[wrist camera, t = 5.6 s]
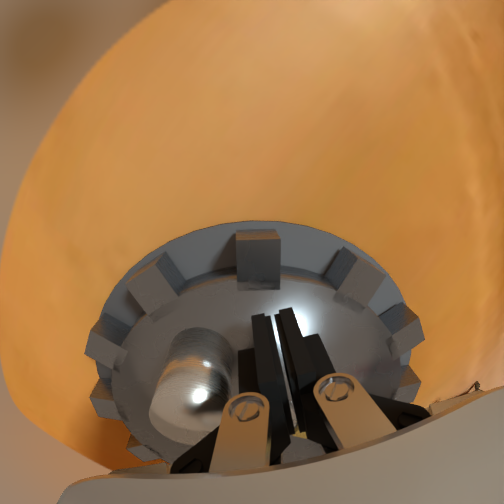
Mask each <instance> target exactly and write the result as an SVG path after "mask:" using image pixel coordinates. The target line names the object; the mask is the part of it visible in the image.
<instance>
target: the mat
mask: <svg viewBox="0 0 504 504" xmlns="http://www.w3.org/2000/svg"><path fill="white" fill-rule="evenodd" d="M244 229H275V230H276V231H277V233H278V235H279V237H280V238H281V265H284V266H290V267H297V268H302V269H306V270H309V271H312V272H316V273H319V274H322V275H324V276H325V275H326V273H327V271H328V270H329V268H330V267H331V265H332V264H333V262H334V260H335V259H336V257H337V255H338V254H339V252H340V251H341V249H342V247H343V246H344V247H346V248H348V249H349V250H351V251H352V252H354V253H356V254H357V255H359V256H361V257H362V258H364V259H365V260H367V261H369V262H370V263H371V264H373V265H374V266H375V267H376V268H378V269H379V270H380V271H381V272H383V273H384V274H385V275H386V277H385V279H384V280H383V282H382V283H381V285H380V287H379V288H378V290H377V291H376V293H375V294H374V296H373V297H372V299H371V300H370V302H369V303H368V305H369V307H370V308H371V309H372V310H373V311H374V312H375V314H376V315H377V316H378V317H379V316H381V315H382V314H384V313H385V312H387V311H388V310H390V309H391V308H393V307H394V306H396V305H397V304H399V303H400V302H403V303H404V304H405V305H406V303H405V301H404V299H403V297H402V295H401V293H400V290H399V289H398V287H397V286H396V284H395V283H394V281H393V280H392V278H391V277H390V276H389V274H388V273H387V272H386V271H385V270H384V269H383V268H382V267H381V266H380V265H379V264H378V263H377V262H376V261H375V260H374V259H373V258H372V257H370V256H369V255H367V254H366V253H365V252H363V251H362V250H360V249H359V248H357V247H356V246H355V245H353V244H351V243H349V242H347V241H345V240H343V239H341V238H339V237H337V236H335V235H333V234H331V233H328V232H324V231H321V230H318V229H315V228H312V227H309V226H305V225H299V224H293V223H286V222H280V221H243V222H234V223H225V224H220V225H216V226H212V227H208V228H204V229H200V230H196V231H193V232H191V233H188V234H186V235H183V236H181V237H179V238H176V239H174V240H171V241H169V242H168V243H166V244H164V245H163V246H161V247H159V248H158V249H156V250H154V251H153V252H151V253H149V254H148V255H147V256H145V257H144V258H143V259H142V260H141V261H139V262H138V263H137V264H136V265H135V266H133V267H132V268H131V269H130V270H129V271H128V272H127V273H126V275H125V276H124V277H123V278H122V279H121V280H120V282H119V283H118V284H117V285H116V286H115V288H114V289H113V291H112V293H111V294H110V296H109V298H108V299H107V301H106V303H105V304H104V307H103V310H102V312H101V315H100V318H101V316H102V315H103V314H104V313H107V314H109V315H111V316H112V317H114V318H116V319H118V320H120V321H121V322H123V323H125V324H127V325H129V326H131V327H132V326H133V324H134V323H135V322H136V320H137V319H138V317H139V316H140V315H141V313H142V312H143V311H144V310H143V308H142V307H141V306H140V304H139V303H138V302H137V300H136V299H135V298H134V296H133V295H132V294H131V292H130V291H129V290H128V288H127V287H126V285H125V283H126V282H127V281H128V280H129V279H130V278H131V277H132V276H133V275H134V273H135V272H136V271H137V270H138V269H139V268H141V267H142V266H144V265H145V264H147V263H148V262H150V261H151V260H153V259H154V258H156V257H157V256H159V255H160V254H162V253H163V252H165V251H166V252H167V253H168V255H169V256H170V258H171V259H172V261H173V262H174V264H175V265H176V267H177V268H178V269H179V271H180V272H181V274H182V275H183V277H184V278H185V279H186V280H188V279H190V278H192V277H195V276H198V275H201V274H204V273H207V272H209V271H213V270H218V269H222V268H227V267H232V266H237V264H236V230H244ZM100 318H99V319H100ZM410 356H411V350H409V351H408V352H406V353H405V354H403V355H402V356H400V363H401V366H404V365H408V364H409V360H410ZM96 365H97V371H98V374H99V377H100V378H106V379H112V369H110V368H109V367H107V366H105V365H103V364H101V363H99V362H98V361H96Z"/></svg>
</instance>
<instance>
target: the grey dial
mask: <svg viewBox="0 0 504 504" xmlns="http://www.w3.org/2000/svg"><path fill="white" fill-rule="evenodd" d="M236 264H237V266H232V267H227V268H222V269H218V270H213V271H209V272H207V273H204V274H201V275H198V276H195V277H192V278H190V279H188V280H186V279H185V278H184V277H183V275H182V274H181V272H180V271H179V269H178V268H177V267H176V265H175V264H174V262H173V261H172V259H171V258H170V256H169V255H168V253H167V252H166V251H165V252H163V253H162V254H160V255H159V256H157V257H156V258H154V259H153V260H151V261H150V262H148V263H147V264H145V265H144V266H142V267H141V268H139V269H138V270H137V271H136V272H135V273H134V275H133V276H132V277H131V278H130V279H129V280H128V281H127V282H126V283H125V285H126V287H127V288H128V290H129V291H130V292H131V294H132V295H133V296H134V298H135V299H136V300H137V302H138V303H139V304H140V306H141V307H142V308H143V310H144V311H143V312H142V313H141V315H140V316H139V317H138V319H137V320H136V322H135V323H134V324H133V326H132V327H131V326H129V325H127V324H125V323H123V322H121V321H120V320H118V319H116V318H114V317H112V316H111V315H109V314H107V313H104V314H103V315H102V316H101V318H100V319H99V320H98V321H97V323H96V324H95V325H94V326H93V328H92V329H91V330H90V334H89V337H88V341H87V345H86V349H85V353H84V354H85V355H87V356H89V357H91V358H92V359H94V360H96V361H98V362H99V363H101V364H103V365H105V366H107V367H109V368H110V369H112V379H106V378H100V379H99V381H98V382H97V384H96V386H95V388H94V390H93V391H92V393H91V395H90V400H91V402H92V404H93V406H94V408H95V410H96V412H97V414H98V416H99V417H104V418H109V419H115V420H122V421H123V422H124V424H125V425H126V427H127V428H128V429H129V431H130V432H131V435H130V438H129V441H128V444H127V448H126V449H127V450H128V451H130V452H131V453H132V454H134V455H135V456H136V457H138V458H139V459H140V460H142V461H143V462H145V461H150V460H155V459H160V458H161V459H162V460H164V461H166V462H168V463H170V464H173V462H174V461H175V460H176V459H177V458H179V457H180V456H181V455H182V454H184V453H185V452H186V451H188V450H189V449H190V448H192V447H193V446H194V445H195V444H197V443H198V442H199V441H201V440H202V439H203V438H204V437H206V436H207V435H208V434H209V433H210V432H212V431H213V430H214V429H215V428H217V427H218V426H219V425H220V422H221V418H222V413H223V409H224V407H225V404H226V403H227V402H228V401H229V400H230V399H231V398H233V397H234V396H236V395H239V385H238V350H243V349H249V348H254V340H253V330H252V320H251V316H252V315H257V314H262V313H265V316H271V320H272V325H273V329H274V334H275V338H276V343H277V348H278V352H279V357H280V361H281V366H282V370H283V375H284V380H285V385H286V390H287V394H288V399H289V404H290V409H291V414H292V419H293V424H294V429H295V434H293V435H290V439H291V444H290V445H289V446H288V447H287V448H286V449H285V450H284V451H283V456H284V461H283V464H284V463H289V462H294V461H299V460H304V459H308V458H312V457H317V456H321V455H323V454H322V452H321V450H320V447H319V444H318V443H316V442H313V441H311V440H309V439H307V436H306V432H302V433H300V432H299V428H298V424H297V419H296V415H295V410H294V406H293V402H292V397H291V393H290V389H289V384H288V380H287V376H286V371H285V367H284V362H283V357H282V352H281V347H280V342H279V337H278V332H277V327H276V322H275V317H274V314H279V310H280V309H285V308H289V307H292V308H293V311H294V314H295V316H296V319H297V322H298V325H299V327H300V330H301V333H302V335H303V337H304V336H308V335H313V334H317V333H318V334H319V336H320V338H321V340H322V342H323V344H324V347H325V349H326V351H327V353H328V355H329V358H330V360H331V362H332V364H333V367H334V369H335V371H336V373H346V374H349V375H351V376H353V377H354V378H356V379H357V380H358V382H359V383H360V384H361V385H362V387H363V388H364V389H365V391H366V392H367V393H370V394H373V395H377V396H381V397H385V398H389V399H393V400H397V401H401V402H405V403H410V402H413V401H414V399H415V397H416V394H417V392H418V389H419V387H420V384H421V381H420V379H419V378H418V377H417V375H416V374H415V373H414V371H413V370H412V369H411V367H410V366H409V365H404V366H401V363H400V356H402V355H403V354H405V353H406V352H408V351H409V350H411V349H412V348H414V347H415V346H417V345H418V344H419V343H421V342H422V341H424V340H425V338H424V334H423V331H422V327H421V323H420V320H419V317H418V316H417V315H416V314H415V313H414V312H413V311H412V310H410V309H409V308H408V307H407V306H406V305H405V304H404V303H403V302H400V303H399V304H397V305H396V306H394V307H393V308H391V309H390V310H388V311H387V312H385V313H384V314H382V315H381V316H379V317H378V316H377V315H376V314H375V312H374V311H373V310H372V309H371V308H370V307H369V305H368V303H369V302H370V300H371V299H372V297H373V296H374V294H375V293H376V291H377V290H378V288H379V287H380V285H381V283H382V282H383V280H384V279H385V277H386V275H385V274H384V273H383V272H381V271H380V270H379V269H378V268H376V267H375V266H374V265H373V264H371V263H370V262H369V261H367V260H365V259H364V258H362V257H361V256H359V255H357V254H356V253H354V252H352V251H351V250H349V249H348V248H346V247H344V246H343V247H342V249H341V251H340V252H339V254H338V255H337V257H336V259H335V260H334V262H333V264H332V265H331V267H330V268H329V270H328V271H327V273H326V275H325V276H324V275H322V274H319V273H316V272H312V271H309V270H306V269H302V268H297V267H290V266H284V265H281V238H280V237H279V235H278V233H277V231H276V230H275V229H244V230H236Z"/></svg>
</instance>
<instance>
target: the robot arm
mask: <svg viewBox="0 0 504 504" xmlns="http://www.w3.org/2000/svg"><path fill="white" fill-rule="evenodd" d="M274 317H275V322H276V327H277V332H278V337H279V342H280V347H281V352H282V357H283V362H284V367H285V371H286V376H287V380H288V384H289V389H290V393H291V397H292V402H293V406H294V410H295V415H296V419H297V424H298V428H299V432H300V433H302V432H306V436H307V439H309V440H311V441H313V442H316V443H318V444H319V447H320V450H321V452H322V454H323V455H321V456H317V457H312V458H308V459H304V460H299V461H294V462H289V463H284V464H283V461H284V456H283V451H284V450H285V449H286V448H287V447H288V446H289V445H290V444H291V439H290V435H293V434H295V429H294V424H293V419H292V414H291V409H290V404H289V399H288V394H287V390H286V385H285V380H284V375H283V370H282V366H281V361H280V357H279V352H278V348H277V343H276V338H275V334H274V329H273V325H272V320H271V316H265V313H262V314H257V315H252V316H251V320H252V330H253V340H254V348H249V349H243V350H238V385H239V395H236V396H234V397H233V398H231V399H230V400H229V401H228V402H227V403H226V404H225V407H224V409H223V413H222V418H221V422H220V425H219V426H218V427H217V428H215V429H214V430H213V431H212V432H210V433H209V434H208V435H207V436H206V437H204V438H203V439H202V440H201V441H199V442H198V443H197V444H195V445H194V446H193V447H192V448H190V449H189V450H188V451H186V452H185V453H184V454H182V455H181V456H180V457H179V458H177V459H176V460H175V461H174V462H173V464H169V465H167V464H166V462H165V463H159V464H154V465H148V466H141V467H135V468H127V469H119V470H115V471H112V472H111V473H109V474H108V475H100V476H94V477H90V478H85V479H82V480H79V481H77V482H74V483H72V484H71V485H69V486H68V487H67V488H66V489H65V490H64V492H63V493H62V495H61V496H60V498H59V500H58V502H57V504H504V386H501V387H496V388H493V389H491V390H488V391H475V392H472V393H468V394H465V395H462V396H459V397H455V398H452V399H448V400H445V401H441V402H437V403H433V404H430V406H429V408H423V407H421V406H418V405H414V404H410V403H405V402H401V401H397V400H393V399H389V398H385V397H381V396H377V395H373V394H370V393H367V392H366V391H365V389H364V388H363V387H362V385H361V384H360V383H359V382H358V380H357V379H356V378H354V377H353V376H351V375H349V374H346V373H336V371H335V369H334V367H333V364H332V362H331V360H330V358H329V355H328V353H327V351H326V349H325V347H324V344H323V342H322V340H321V338H320V336H319V334H318V333H317V334H313V335H308V336H304V337H303V335H302V333H301V330H300V327H299V325H298V322H297V319H296V316H295V314H294V311H293V308H292V307H289V308H285V309H280V310H279V314H274Z"/></svg>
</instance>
